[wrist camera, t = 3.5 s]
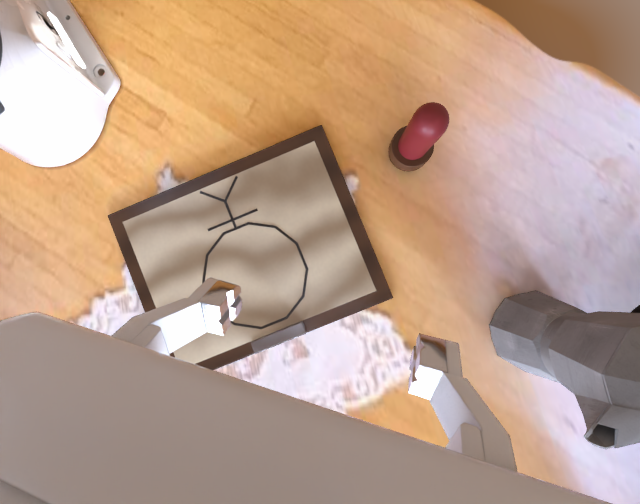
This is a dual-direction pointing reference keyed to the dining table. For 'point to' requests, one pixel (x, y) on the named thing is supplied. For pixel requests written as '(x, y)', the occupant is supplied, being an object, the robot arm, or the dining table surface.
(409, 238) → the dining table surface
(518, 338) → the coffeepot
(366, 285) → the drawing board
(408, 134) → the dot stamp
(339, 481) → the robot arm
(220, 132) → the dining table surface
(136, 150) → the dining table surface
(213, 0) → the dining table surface
